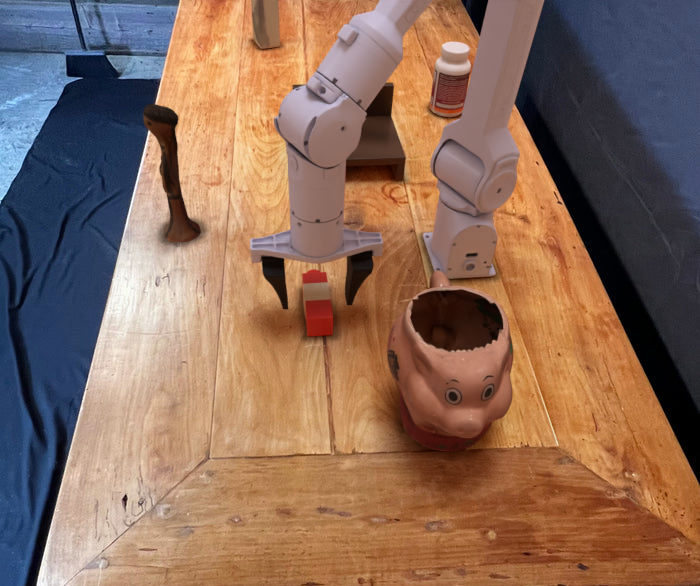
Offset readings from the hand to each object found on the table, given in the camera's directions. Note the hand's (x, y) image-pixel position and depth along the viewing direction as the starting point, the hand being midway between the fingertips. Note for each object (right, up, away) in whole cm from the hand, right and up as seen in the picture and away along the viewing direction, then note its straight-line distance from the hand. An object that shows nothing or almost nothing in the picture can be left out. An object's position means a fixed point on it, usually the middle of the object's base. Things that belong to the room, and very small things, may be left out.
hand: (317, 301), depth 75 cm
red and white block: (0, -1, +1) cm, 2 cm away
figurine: (-19, +11, +12) cm, 25 cm away
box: (-13, +57, +54) cm, 80 cm away
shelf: (+3, +25, +26) cm, 36 cm away
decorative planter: (+13, -12, -7) cm, 19 cm away
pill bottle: (+21, +37, +38) cm, 57 cm away
